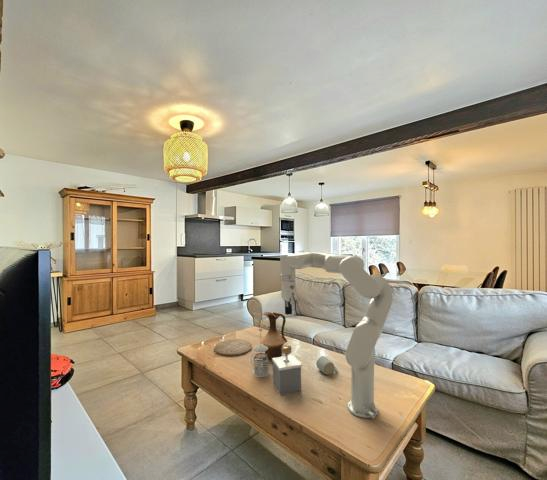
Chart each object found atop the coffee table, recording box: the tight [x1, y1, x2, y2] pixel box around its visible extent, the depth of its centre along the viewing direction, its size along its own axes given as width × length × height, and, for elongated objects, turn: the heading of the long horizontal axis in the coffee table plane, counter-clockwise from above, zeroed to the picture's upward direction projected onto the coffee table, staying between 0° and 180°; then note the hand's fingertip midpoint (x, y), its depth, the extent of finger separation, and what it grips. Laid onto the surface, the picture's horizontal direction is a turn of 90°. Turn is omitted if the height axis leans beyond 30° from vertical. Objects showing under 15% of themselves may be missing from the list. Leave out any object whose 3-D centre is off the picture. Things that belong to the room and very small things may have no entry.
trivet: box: [213, 338, 252, 357], centre depth 193 cm, size 25×25×2 cm
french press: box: [250, 328, 271, 378], centre depth 158 cm, size 10×12×25 cm
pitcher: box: [259, 311, 288, 361], centre depth 180 cm, size 18×17×28 cm
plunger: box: [281, 344, 292, 363], centre depth 144 cm, size 5×5×18 cm
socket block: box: [271, 354, 303, 396], centre depth 146 cm, size 16×12×13 cm
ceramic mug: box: [315, 355, 338, 376], centre depth 160 cm, size 11×8×8 cm
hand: (288, 313), depth 144 cm, fingers closed
